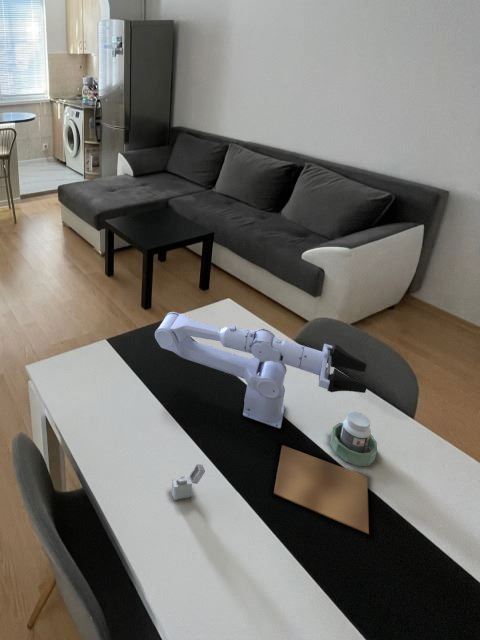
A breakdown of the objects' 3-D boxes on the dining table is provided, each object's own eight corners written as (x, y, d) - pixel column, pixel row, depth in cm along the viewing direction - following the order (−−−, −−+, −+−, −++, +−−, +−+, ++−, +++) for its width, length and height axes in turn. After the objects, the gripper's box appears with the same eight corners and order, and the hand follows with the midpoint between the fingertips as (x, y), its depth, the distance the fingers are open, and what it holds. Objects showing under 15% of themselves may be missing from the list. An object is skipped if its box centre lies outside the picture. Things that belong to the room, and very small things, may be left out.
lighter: (174, 500, 96) (174, 475, 93) (171, 492, 98) (172, 468, 95) (203, 494, 97) (205, 469, 94) (200, 487, 99) (202, 462, 96)
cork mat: (273, 494, 96) (273, 492, 96) (281, 446, 107) (282, 444, 107) (368, 534, 87) (368, 533, 87) (366, 477, 98) (367, 476, 98)
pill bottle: (369, 460, 102) (377, 430, 99) (343, 457, 103) (350, 427, 100) (360, 440, 107) (367, 410, 104) (335, 437, 109) (341, 408, 105)
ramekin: (329, 455, 104) (332, 445, 103) (331, 427, 111) (333, 417, 110) (374, 472, 100) (377, 461, 98) (373, 442, 107) (376, 431, 105)
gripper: (301, 362, 99) (370, 385, 92) (307, 328, 110) (369, 346, 104) (295, 385, 101) (362, 409, 95) (302, 350, 113) (362, 368, 106)
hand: (365, 378), depth 99 cm, fingers open, 7 cm apart
